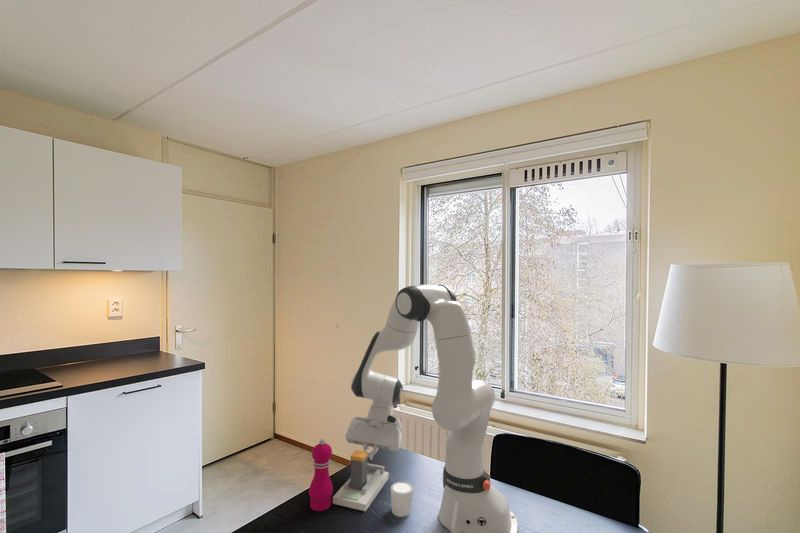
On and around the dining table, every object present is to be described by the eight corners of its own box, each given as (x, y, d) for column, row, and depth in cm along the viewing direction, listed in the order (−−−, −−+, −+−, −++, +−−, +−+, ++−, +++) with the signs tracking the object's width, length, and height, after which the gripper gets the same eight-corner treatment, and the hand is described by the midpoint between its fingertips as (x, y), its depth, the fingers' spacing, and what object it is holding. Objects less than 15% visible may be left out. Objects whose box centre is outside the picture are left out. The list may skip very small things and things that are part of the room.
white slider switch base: (388, 478, 133) (388, 466, 133) (365, 511, 114) (365, 497, 114) (359, 472, 137) (360, 461, 137) (332, 503, 118) (332, 490, 118)
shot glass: (413, 518, 111) (413, 494, 111) (389, 518, 111) (390, 493, 111) (412, 504, 118) (413, 481, 118) (390, 503, 118) (390, 481, 118)
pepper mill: (319, 515, 112) (321, 446, 112) (303, 506, 116) (305, 439, 116) (337, 504, 117) (339, 438, 118) (321, 495, 122) (323, 432, 122)
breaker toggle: (367, 483, 125) (367, 452, 125) (361, 490, 121) (362, 458, 121) (355, 481, 126) (356, 450, 126) (349, 487, 122) (350, 455, 123)
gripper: (350, 412, 141) (337, 450, 132) (402, 420, 135) (393, 460, 125) (355, 420, 146) (342, 457, 136) (406, 428, 139) (397, 467, 130)
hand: (367, 459), depth 131 cm, fingers closed
